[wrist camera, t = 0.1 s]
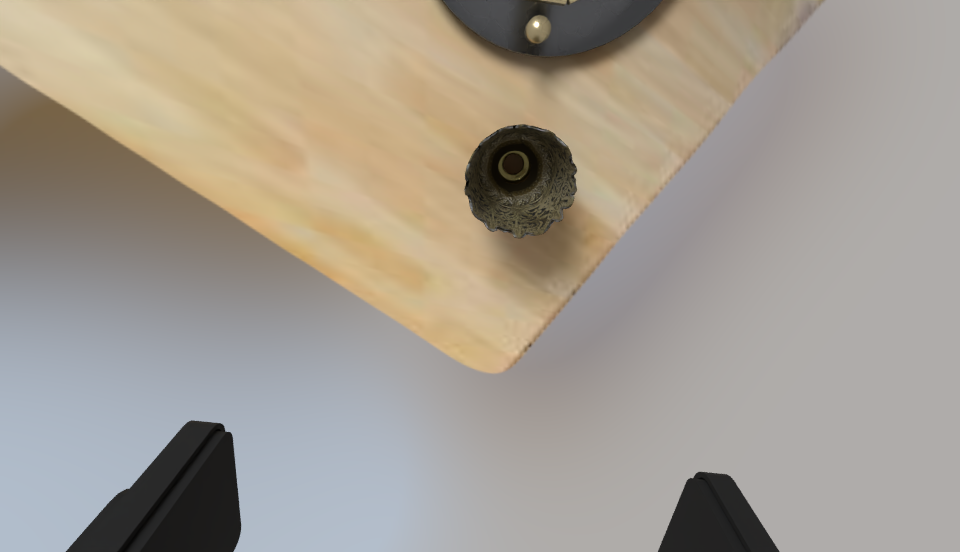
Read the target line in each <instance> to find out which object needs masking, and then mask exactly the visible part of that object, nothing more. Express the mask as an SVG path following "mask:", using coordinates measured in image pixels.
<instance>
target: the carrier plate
mask: <svg viewBox="0 0 960 552" xmlns="http://www.w3.org/2000/svg"><path fill="white" fill-rule="evenodd" d="M661 1H662V0H443V2H444V3H445V4H446V5H447V7H448V8H449V9H450V10H451V12H452V13H453V14H454V15H455V16H456V17H457V18H458V19H459V20H460V21H461V22H462V23H463V24H464V25H465V26H467V27H468V28H469V29H471V30H472V31H473V32H475V33H476V34H477V35H479V36H480V37H482V38H483V39H485V40H487V41H489V42H491V43H492V44H494V45H496V46H498V47H501V48H504V49H506V50H509V51H512V52H515V53H520V54H524V55H529V56H539V57H556V56H567V55H571V54H576V53H581V52H585V51H588V50H591V49H593V48H596V47H599V46H601V45H604V44H606V43H608V42H610V41H612V40H614V39H616V38H618V37H619V36H621V35H623V34H624V33H626V32H627V31H629V30H630V29H631V28H633V27H634V26H636V25H637V24H638V23H640V22H641V21H642V20H643V19H644V18H645V17H646V16H647V15H649V14H650V13H651V12H652V11H653V10H654V9H655V8H656V7H657V6H658V5H659V3H660V2H661Z"/></svg>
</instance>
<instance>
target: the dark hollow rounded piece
mask: <svg viewBox="0 0 960 552" xmlns="http://www.w3.org/2000/svg"><path fill="white" fill-rule="evenodd" d="M510 154H517V155H519V156H520V157H521V158H522V160H523V168H522V170H521V171H520V172H519V173H517V174H509V173H507V172H506V171H505V169H504V167H503V162H504V159H505V158H506V157H507V156H508V155H510ZM576 171H577V168H576V166H575V164H574V163H573V161H572V154H571V152H570V150H569V148H568V146H567V145H566V144H565V143H564V142H563V141H562V140H561V139H559V138H558V137H557V136H555V134H554V133H553V132H551V131H549V130H546V129H541V128H538V127H535V126H528V125H524V124H522V125H514V126H508V127H504V128H501V129H499V130H497V131H496V132H494V133H493V134H491V135H490V136H488V137H486V138H485V139H484V140H483V141H482V142H481V143H480V144H479V146H478V148H477V149H476V150H475V151H474V153H473V154H472V156H471V158H470V160H469V163H468V165H467V168H466V172H465V179H466V186H465V195H467V196H468V199H469V204H470V208H471V211H472V213H473V215H474V216H475V217H476V218H477V219H478V220H480V221H482V222H483V223H484V224H485V226H486V227H487V229H488V230H490V231H492V232H494V231H497V229H499V230H501V231H503V232H509V233H512V234H513V236H514V237H515V238H523V237H525V236H526V235H531V236H535V235H540V234H543V233H545V232H546V231H547V230H548V229H549V228H550V226H551V224H552V223H553V222H554V221H556V222H560V221H562V219H563V209H567V208H570V207H571V205H572V204H573V201H574V196H573V195H575V192H576V191H577V187H576V179H575V177H574V175H575V174H576ZM495 229H496V230H495Z"/></svg>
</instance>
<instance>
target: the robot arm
mask: <svg viewBox="0 0 960 552" xmlns="http://www.w3.org/2000/svg"><path fill="white" fill-rule="evenodd" d="M240 532H241V519H240V510H239V498H238V488H237V478H236V468H235V457H234V447H233V437H232V434H231V433H230V432H225V428H224V426H223V425H222V424H220V423H211V422H201V421H189V422H187V423H186V424H185V425H184V426H183V427H182V429H181V430H180V431H179V432H178V433H177V434H176V436H175V437H174V438H173V439H172V440H171V441H170V442H169V444H168V445H167V446H166V447H165V449H163V451H162V452H161V453H160V454H159V455H158V456H157V458H156V459H155V460H154V461H153V462H152V463H151V465H150V466H149V467H148V468H147V469H146V470H145V472H144V473H143V474H142V475H141V476H140V477H139V478H138V480H137V481H136V482H135V483H134V484H133V485H132V487H131V488H130V489H126V490H124V491H122V492H120V493H118V494H117V495H116V496H115V497H114V498H113V499H112V500H111V501H110V502H109V503H108V504H107V506H106V507H105V508H104V509H103V510H102V511H101V512H100V513H99V515H98V516H97V517H96V518H95V519H94V520H93V521H92V523H91V524H90V525H89V526H88V527H87V528H86V529H85V530H84V532H83V533H82V534H81V535H80V536H79V537H78V538H77V540H76V541H75V542H74V543H73V544H72V545H71V546H70V547H69V549H68V550H67V551H66V552H233V551H234V549H235V547H236V545H237V543H238V540H239V537H240ZM658 552H779V550H778V549H777V547H776V546H775V544H774V543H773V541H772V539H771V538H770V536H769V535H768V533H767V532H766V530H765V528H764V527H763V525H762V524H761V522H760V521H759V519H758V517H757V516H756V515H755V513H754V511H753V510H752V508H751V507H750V505H749V504H748V502H747V500H746V499H745V497H744V496H743V494H742V493H741V491H740V489H739V488H738V487H737V485H736V483H735V482H734V480H733V479H732V478H731V477H730V476H728V475H727V474H717V473H707V472H698V473H696V475H695V476H694V478H690V479H688V480H687V482H686V484H685V487H684V489H683V492H682V494H681V497H680V499H679V502H678V504H677V507H676V509H675V511H674V514H673V516H672V519H671V521H670V523H669V526H668V528H667V531H666V534H665V536H664V538H663V541H662V543H661V545H660V548H659V550H658Z"/></svg>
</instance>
